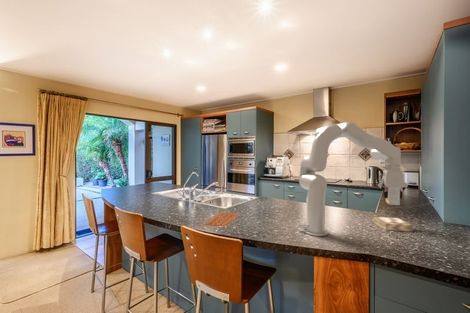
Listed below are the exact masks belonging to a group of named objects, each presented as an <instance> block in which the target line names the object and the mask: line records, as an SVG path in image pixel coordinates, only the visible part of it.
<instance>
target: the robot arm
mask: <svg viewBox="0 0 470 313" xmlns="http://www.w3.org/2000/svg"><path fill="white" fill-rule="evenodd" d="M314 132H315V133H314V136H315V137H314V140H313V142H312V145H311V150H310V151H311V152H310V154H307V155H305V156H304V157H303V158H302V160H301V161H300V167H299V168H300V169H299V176H298V183H299V186H300V187H301V188H302V189H304V190H307V194H306V201H305V202H306V203H305V204H306V211H305V212H306V214H305V215H306V219H305V220H306V221H304V223H297V228H300V229H303V233H305V234H307V235H310V236H314V237H325V236H327V235H328V234H329V231H328V230H327V229H326V192H327V186H328V183H327V179H326V178H325V177H324V176H323V175H320V174H318V173H320V172H324V170H326V168H327V162H328V154H329V148H330V145H331V144H332V143H333V142H334V141H335V140H337V139H339V138H347V139H348V140H349V141H350V142H352V143H353V144H355V145H356V146H358V147H360V148H363V149H370V152H369V154H370V155H369V156H370V157H371V158H373V159H374V160H384V165H382V169H383V173H382V178H381V181H379V182H378V184H377V186H378V187H379V188H380V190H382V192H383V194H382V197H383V198H384V199H386V198H388V192H387V190H388V186H398V187H400V200H402V199H403V192H404V191H405V190H406V189H407V188H408V187H409V184H408V183H406V182H405V176H404V172H403V170H401V168H402V167H401V158H402V156H401V151H402V150H401V147H399V146H395V145H394V144H393V143H391V142H390V141H388V140H386V139H384V138H383V137H382V138H381V137H378V136H375V135H373V134H370V133H369V132H367V131H366V130H364V129H362V128H361V127H360V126H358V125H357V124H356V123H354V122H352V121H344V122H341V123H335V124H329V125H325V126H321V127H318V128H317V129H316V130H315V131H314Z"/></svg>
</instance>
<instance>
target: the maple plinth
mask: <svg viewBox="0 0 470 313" xmlns="http://www.w3.org/2000/svg"><path fill="white" fill-rule="evenodd" d="M373 223H374V224H375V225H377V226H378V227H380V228H382V229H383V230H385V231H396V232H397V231H398V232H399V231H400V232H414V224H412V223H410V222H408V221H405V220H403V219H402V218H400V217H386V216H385V217H383V216H382V217H381V216H380V217H379V216H374V217H373Z"/></svg>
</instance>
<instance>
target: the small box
mask: <svg viewBox="0 0 470 313" xmlns="http://www.w3.org/2000/svg"><path fill="white" fill-rule="evenodd" d="M387 192H388V198H385V203H387V204H388V205H393V206H395V205H396V206H401V203H400V201H401V199H400V187H398V186H388V190H387Z"/></svg>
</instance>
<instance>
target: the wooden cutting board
mask: <svg viewBox="0 0 470 313" xmlns="http://www.w3.org/2000/svg"><path fill="white" fill-rule="evenodd" d="M239 215H240V214H239V212H238V213H237V212H223V211H222V212H221V211H220V212H219V213H217V214H216V215H214V216H213V217H212V218H210V219H209V220H208V221H206V222H205V223H204V226H208V227H209V226H210V227H220V228H221V227H222V228H228V226H229V225H231V223H232V222H233V221H234V220H235V219H236V218H237V217H238V216H239Z"/></svg>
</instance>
